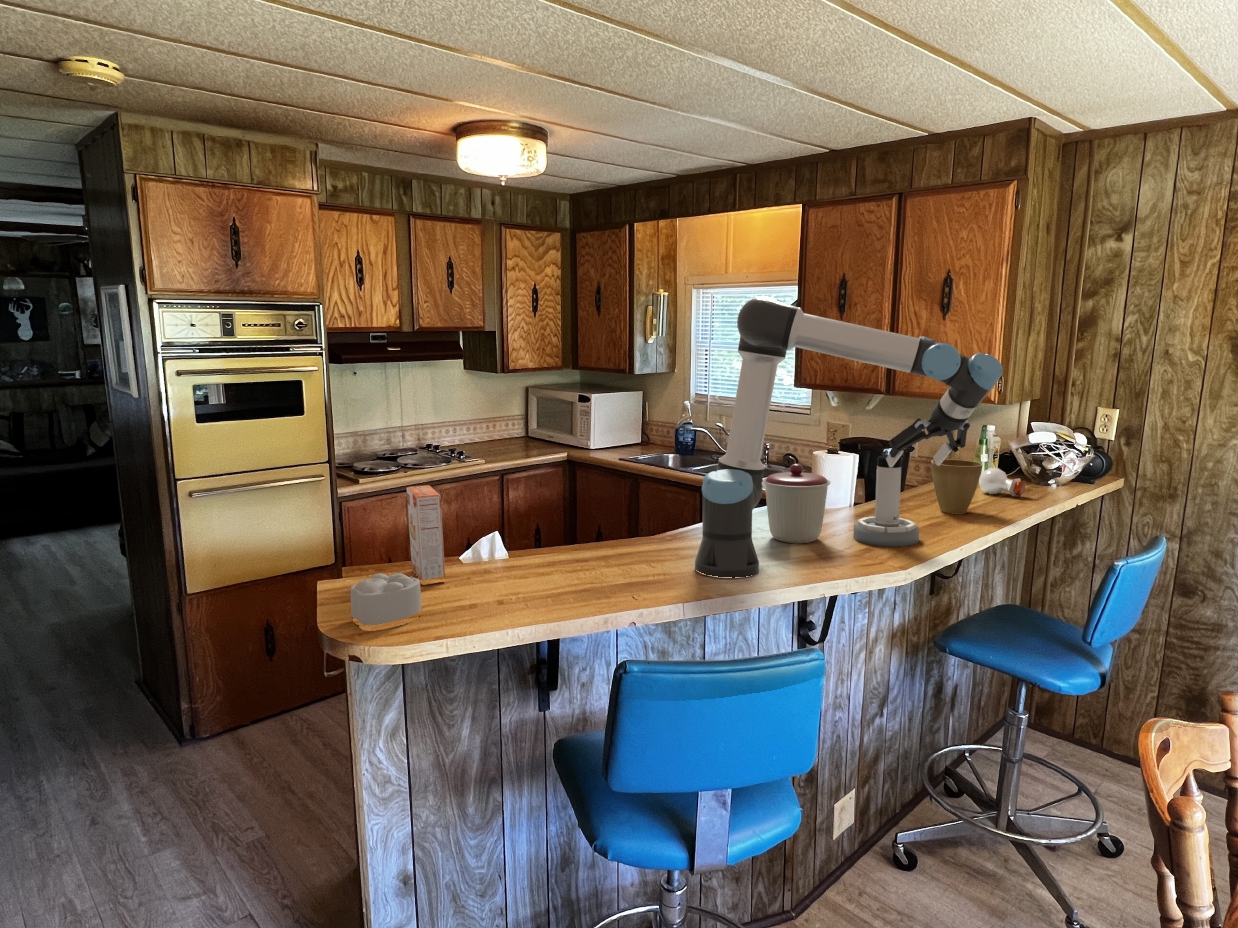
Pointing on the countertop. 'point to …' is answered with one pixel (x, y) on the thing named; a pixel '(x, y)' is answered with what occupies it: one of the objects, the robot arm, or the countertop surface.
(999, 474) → the potion bottle
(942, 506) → the plant pot
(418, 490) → the cracker box
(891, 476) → the travel mug
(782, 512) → the canister
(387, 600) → the lumpy-topped squat cylinder
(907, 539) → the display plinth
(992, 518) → the countertop surface
